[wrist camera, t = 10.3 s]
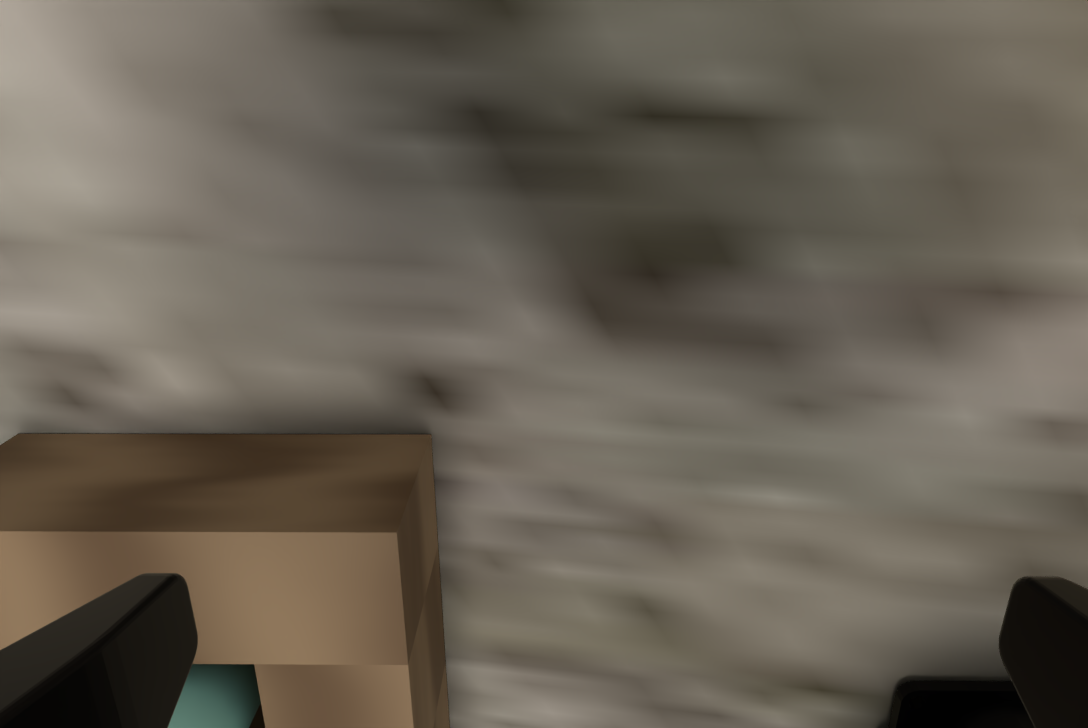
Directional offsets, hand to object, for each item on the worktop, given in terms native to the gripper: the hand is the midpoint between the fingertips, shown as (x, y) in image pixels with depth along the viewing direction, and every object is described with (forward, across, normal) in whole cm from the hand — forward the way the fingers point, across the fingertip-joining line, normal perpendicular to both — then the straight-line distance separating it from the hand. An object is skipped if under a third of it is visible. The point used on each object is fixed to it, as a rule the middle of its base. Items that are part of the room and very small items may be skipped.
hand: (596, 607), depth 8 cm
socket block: (+12, +10, +10) cm, 19 cm away
